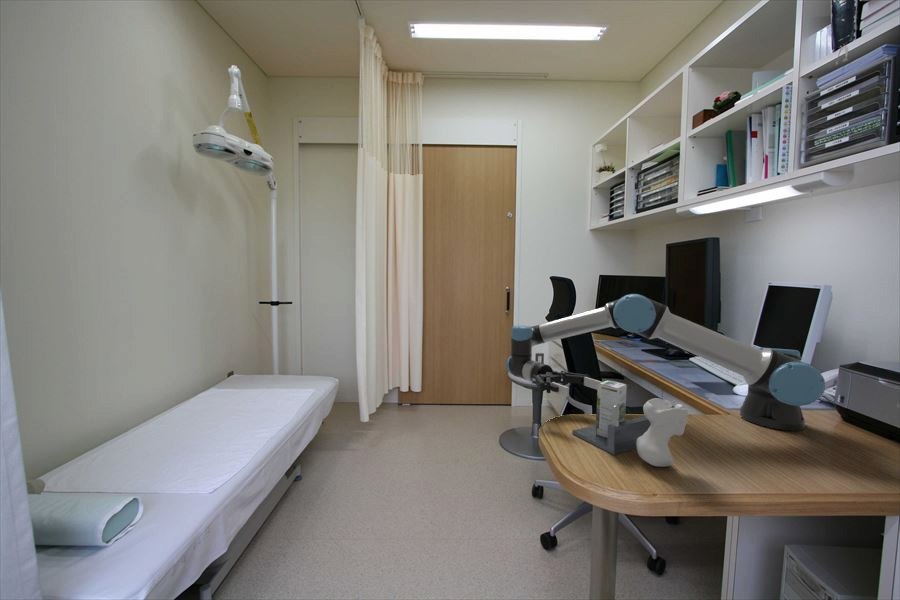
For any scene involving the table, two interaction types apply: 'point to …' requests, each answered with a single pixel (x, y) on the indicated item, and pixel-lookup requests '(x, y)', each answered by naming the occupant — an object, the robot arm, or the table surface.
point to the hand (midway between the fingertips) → (585, 389)
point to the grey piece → (616, 433)
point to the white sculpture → (661, 431)
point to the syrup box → (609, 405)
